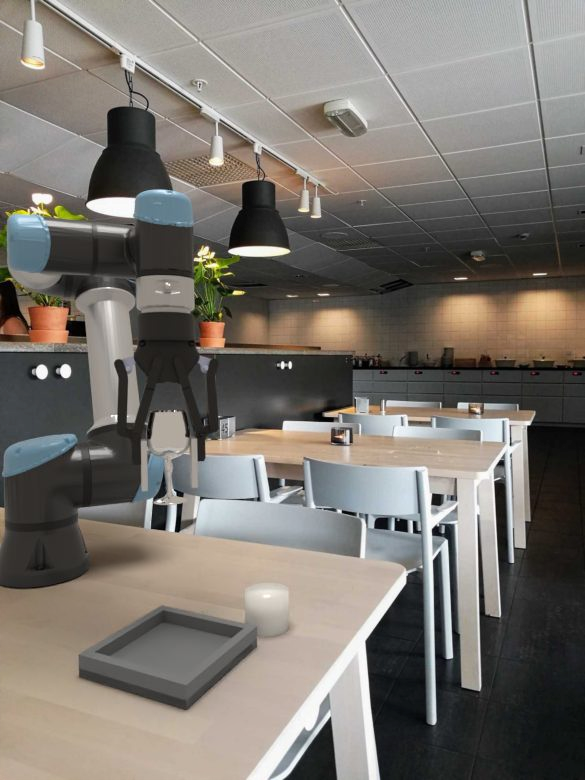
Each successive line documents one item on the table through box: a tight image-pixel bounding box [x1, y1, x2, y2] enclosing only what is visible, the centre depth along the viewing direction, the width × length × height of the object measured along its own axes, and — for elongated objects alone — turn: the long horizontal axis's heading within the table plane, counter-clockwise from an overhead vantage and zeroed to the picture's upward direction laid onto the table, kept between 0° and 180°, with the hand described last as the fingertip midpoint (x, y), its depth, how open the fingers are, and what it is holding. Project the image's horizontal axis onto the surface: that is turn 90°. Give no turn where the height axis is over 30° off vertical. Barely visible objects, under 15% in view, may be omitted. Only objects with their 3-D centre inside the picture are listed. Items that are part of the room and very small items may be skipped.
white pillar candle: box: [244, 582, 290, 638], centre depth 79 cm, size 6×6×5 cm
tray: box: [78, 605, 258, 710], centre depth 70 cm, size 15×15×3 cm
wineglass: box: [146, 409, 192, 506], centre depth 77 cm, size 6×6×12 cm
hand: (169, 487), depth 77 cm, fingers closed on wineglass, 6 cm apart
